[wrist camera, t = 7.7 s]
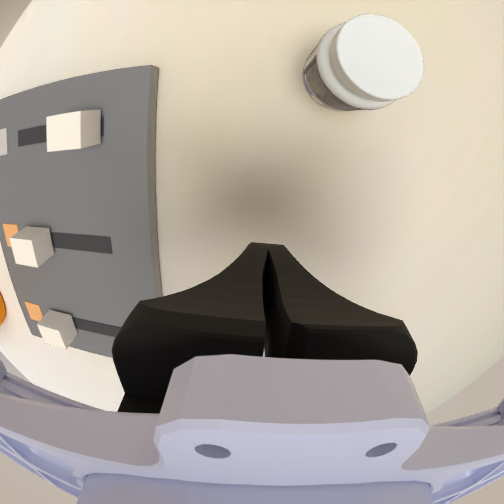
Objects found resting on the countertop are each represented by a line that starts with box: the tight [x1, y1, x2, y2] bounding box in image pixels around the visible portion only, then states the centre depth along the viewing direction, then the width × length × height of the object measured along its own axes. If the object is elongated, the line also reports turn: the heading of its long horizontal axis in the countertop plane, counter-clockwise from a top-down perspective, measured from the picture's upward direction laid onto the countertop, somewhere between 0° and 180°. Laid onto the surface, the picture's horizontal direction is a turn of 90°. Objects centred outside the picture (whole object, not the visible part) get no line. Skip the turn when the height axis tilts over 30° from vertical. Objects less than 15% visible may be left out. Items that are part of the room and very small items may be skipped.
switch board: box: [0, 65, 162, 358], centre depth 22 cm, size 26×18×2 cm
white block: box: [37, 310, 77, 349], centre depth 24 cm, size 2×3×2 cm
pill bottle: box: [303, 14, 424, 111], centre depth 13 cm, size 5×5×8 cm
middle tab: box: [10, 226, 54, 268], centre depth 20 cm, size 2×3×2 cm
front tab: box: [46, 110, 101, 152], centre depth 16 cm, size 2×3×2 cm
